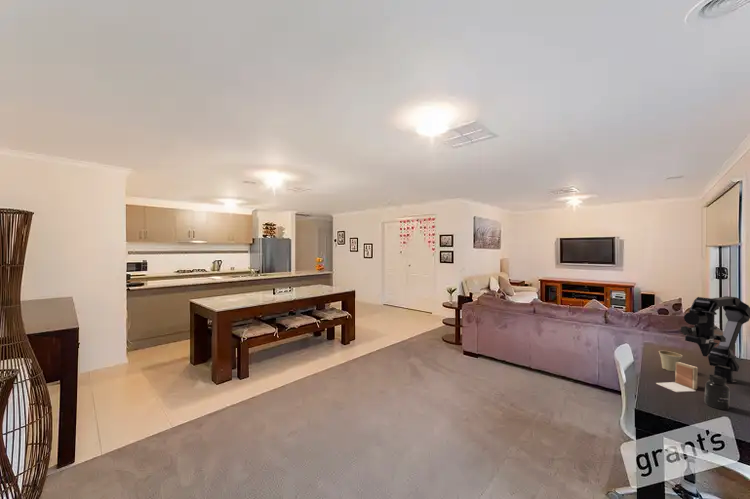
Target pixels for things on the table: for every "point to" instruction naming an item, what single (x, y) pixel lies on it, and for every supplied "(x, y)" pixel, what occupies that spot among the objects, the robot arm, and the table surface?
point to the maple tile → (686, 375)
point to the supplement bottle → (717, 392)
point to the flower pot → (669, 360)
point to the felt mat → (676, 387)
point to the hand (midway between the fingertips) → (704, 356)
